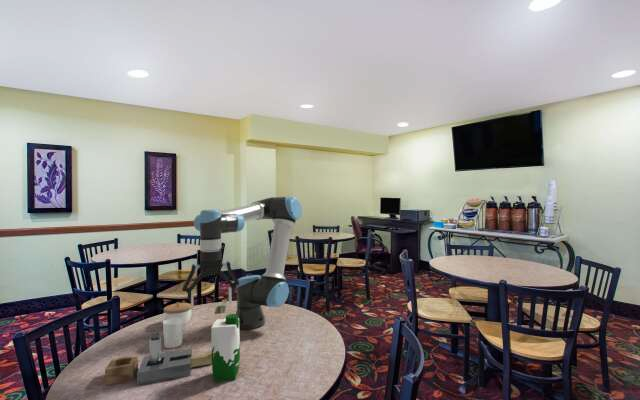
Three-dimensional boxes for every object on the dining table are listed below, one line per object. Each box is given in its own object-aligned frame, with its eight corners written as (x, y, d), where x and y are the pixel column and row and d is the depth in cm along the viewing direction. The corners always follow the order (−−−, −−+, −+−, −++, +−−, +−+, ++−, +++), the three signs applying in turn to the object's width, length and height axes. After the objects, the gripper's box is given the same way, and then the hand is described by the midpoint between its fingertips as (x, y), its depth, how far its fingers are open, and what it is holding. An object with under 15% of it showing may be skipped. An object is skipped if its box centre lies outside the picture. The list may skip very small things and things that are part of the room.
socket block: (192, 359, 120) (191, 348, 120) (190, 375, 108) (190, 363, 108) (144, 367, 114) (144, 356, 114) (137, 385, 103) (137, 372, 103)
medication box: (224, 313, 171) (225, 306, 171) (219, 313, 170) (220, 306, 170) (226, 306, 182) (227, 299, 182) (221, 306, 182) (222, 299, 182)
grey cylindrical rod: (162, 369, 112) (161, 330, 113) (160, 375, 109) (160, 334, 109) (150, 371, 111) (150, 331, 111) (149, 377, 108) (148, 335, 108)
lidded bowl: (197, 323, 157) (197, 301, 157) (174, 332, 146) (173, 308, 146) (182, 319, 163) (181, 297, 164) (158, 327, 153) (158, 304, 153)
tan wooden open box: (138, 368, 114) (137, 354, 114) (133, 380, 106) (132, 365, 106) (112, 373, 111) (112, 358, 111) (105, 385, 103) (105, 369, 104)
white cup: (175, 349, 128) (175, 324, 129) (158, 348, 130) (158, 323, 130) (187, 341, 136) (187, 317, 136) (171, 340, 138) (171, 317, 138)
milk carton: (237, 381, 104) (236, 320, 104) (209, 383, 103) (208, 321, 103) (241, 367, 113) (240, 311, 113) (215, 369, 112) (214, 312, 112)
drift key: (211, 361, 118) (211, 351, 118) (211, 364, 115) (211, 354, 115) (188, 365, 115) (188, 355, 115) (188, 368, 113) (187, 358, 113)
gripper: (242, 246, 128) (243, 299, 128) (174, 251, 118) (175, 308, 118) (245, 249, 122) (246, 304, 121) (174, 254, 111) (175, 314, 111)
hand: (211, 306), depth 120 cm, fingers open, 13 cm apart
